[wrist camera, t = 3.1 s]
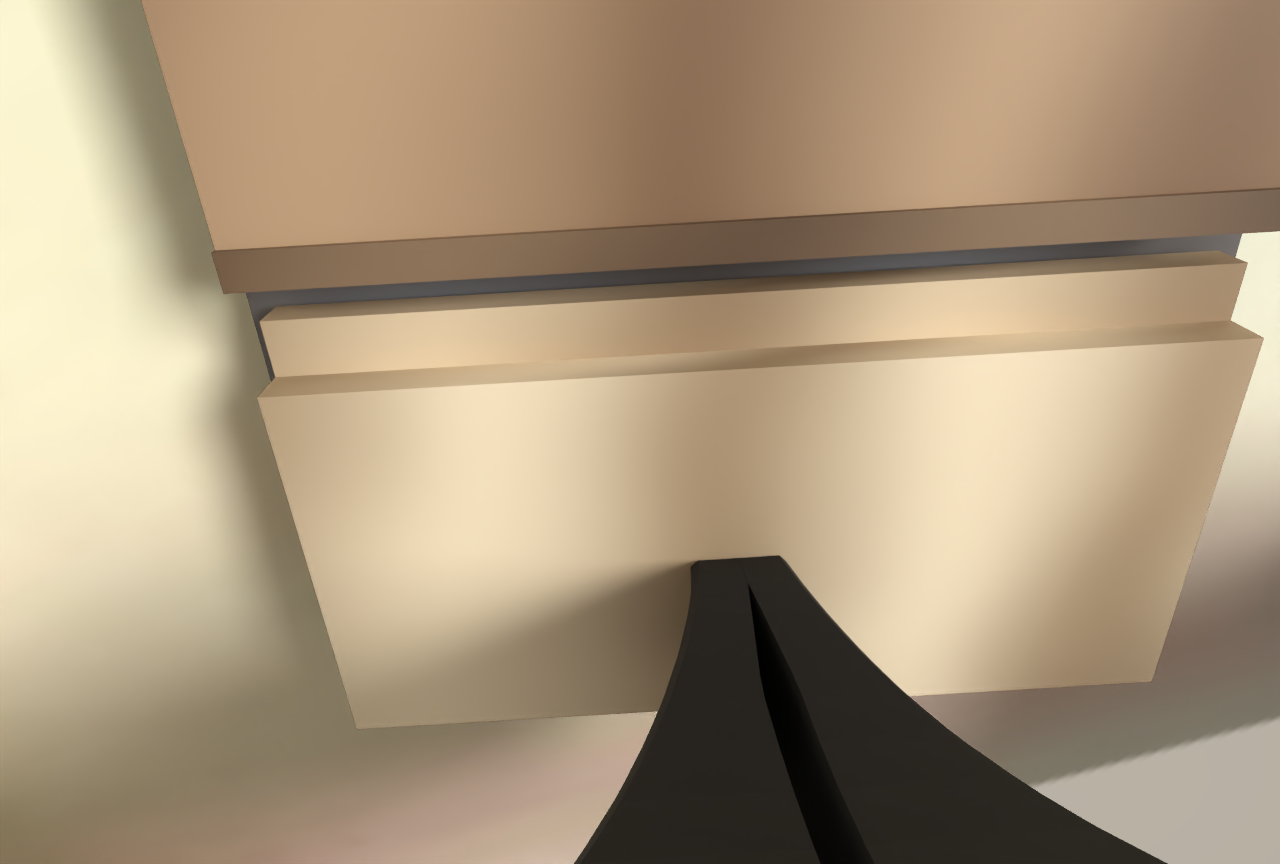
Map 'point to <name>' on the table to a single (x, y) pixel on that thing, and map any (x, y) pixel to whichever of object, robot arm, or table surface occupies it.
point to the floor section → (710, 137)
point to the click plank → (755, 473)
